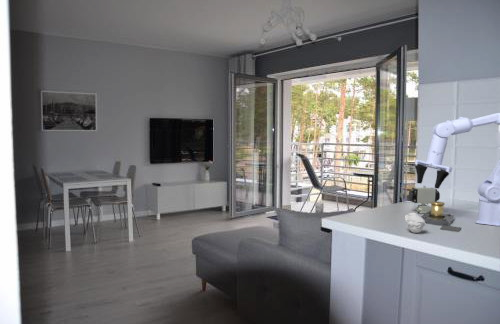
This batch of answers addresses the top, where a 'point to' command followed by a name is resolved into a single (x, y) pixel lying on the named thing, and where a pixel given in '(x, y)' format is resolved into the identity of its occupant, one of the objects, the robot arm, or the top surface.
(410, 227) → the white lumpy ball
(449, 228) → the mat
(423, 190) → the pneumatic valve
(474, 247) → the top surface
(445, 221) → the housing
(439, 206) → the gold metal cylinder
